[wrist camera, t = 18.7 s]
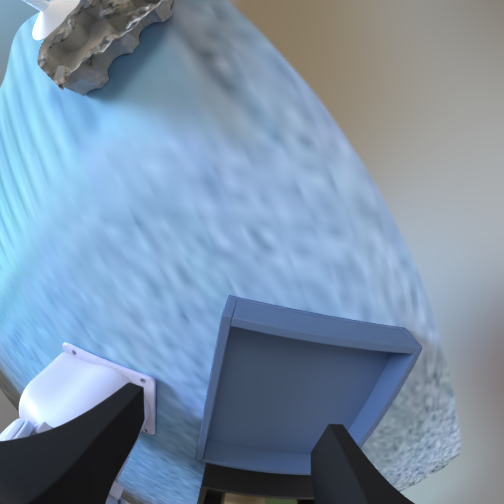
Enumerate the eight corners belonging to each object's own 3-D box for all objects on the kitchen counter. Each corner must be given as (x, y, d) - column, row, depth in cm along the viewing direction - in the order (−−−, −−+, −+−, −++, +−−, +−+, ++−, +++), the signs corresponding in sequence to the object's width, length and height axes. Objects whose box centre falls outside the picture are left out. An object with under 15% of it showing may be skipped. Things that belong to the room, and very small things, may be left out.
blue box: (201, 437, 21) (195, 460, 18) (228, 294, 18) (221, 314, 15) (333, 453, 21) (338, 475, 18) (405, 327, 18) (423, 347, 15)
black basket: (199, 494, 24) (193, 519, 20) (209, 451, 22) (201, 485, 17) (297, 505, 24) (298, 530, 20) (333, 464, 21) (339, 496, 17)
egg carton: (89, 108, 15) (54, 96, 11) (52, 69, 14) (22, 57, 10) (192, 6, 13) (177, -25, 9) (138, -19, 12) (120, -43, 8)
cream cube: (223, 486, 23) (219, 512, 19) (228, 473, 22) (224, 501, 18) (256, 491, 23) (255, 517, 19) (265, 478, 22) (264, 506, 18)
